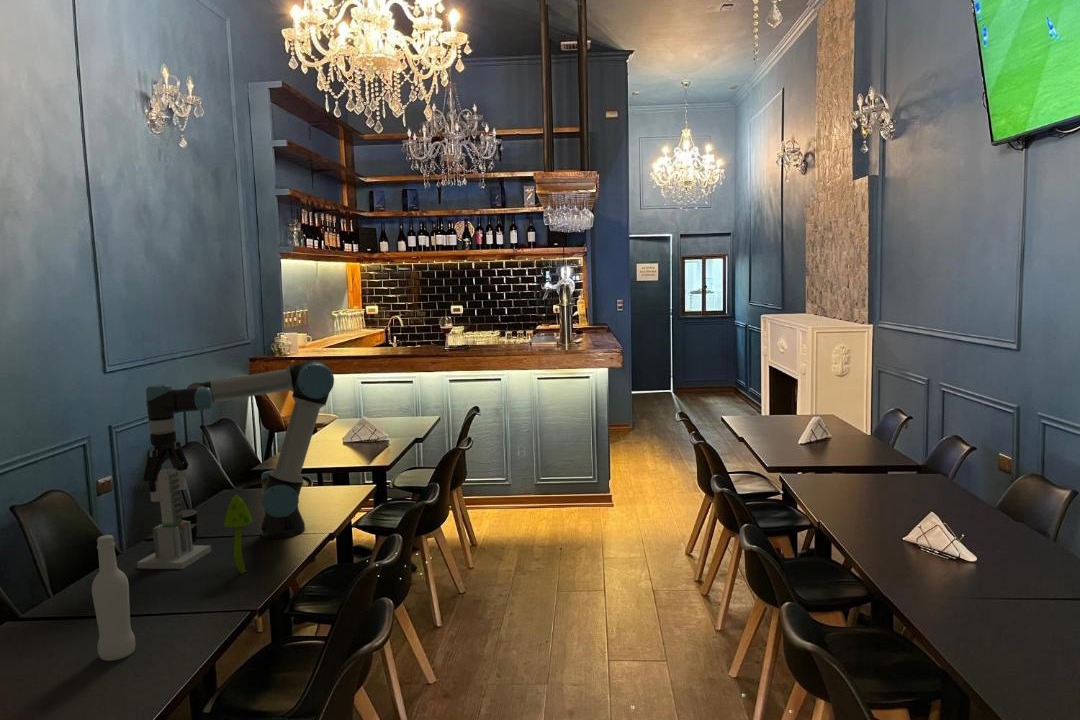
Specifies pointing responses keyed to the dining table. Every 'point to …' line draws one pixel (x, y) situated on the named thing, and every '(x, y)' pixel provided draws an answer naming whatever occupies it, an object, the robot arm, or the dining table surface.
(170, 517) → the column
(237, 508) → the mushroom
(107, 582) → the bottle
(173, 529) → the stand base
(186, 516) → the mug
